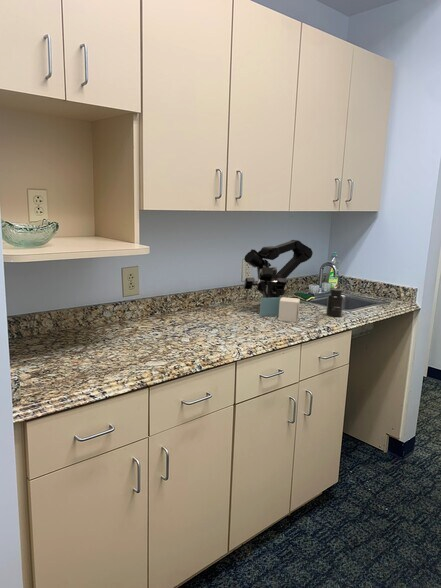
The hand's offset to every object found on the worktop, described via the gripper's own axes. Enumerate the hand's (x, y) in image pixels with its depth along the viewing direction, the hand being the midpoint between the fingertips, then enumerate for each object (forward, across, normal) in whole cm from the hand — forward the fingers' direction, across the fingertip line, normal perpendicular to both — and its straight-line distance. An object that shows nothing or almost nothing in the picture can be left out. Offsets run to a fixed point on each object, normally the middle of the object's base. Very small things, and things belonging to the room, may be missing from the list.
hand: (267, 298), depth 203 cm
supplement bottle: (+5, +32, +5) cm, 32 cm away
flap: (+7, +1, +3) cm, 8 cm away
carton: (+11, +8, -1) cm, 14 cm away
